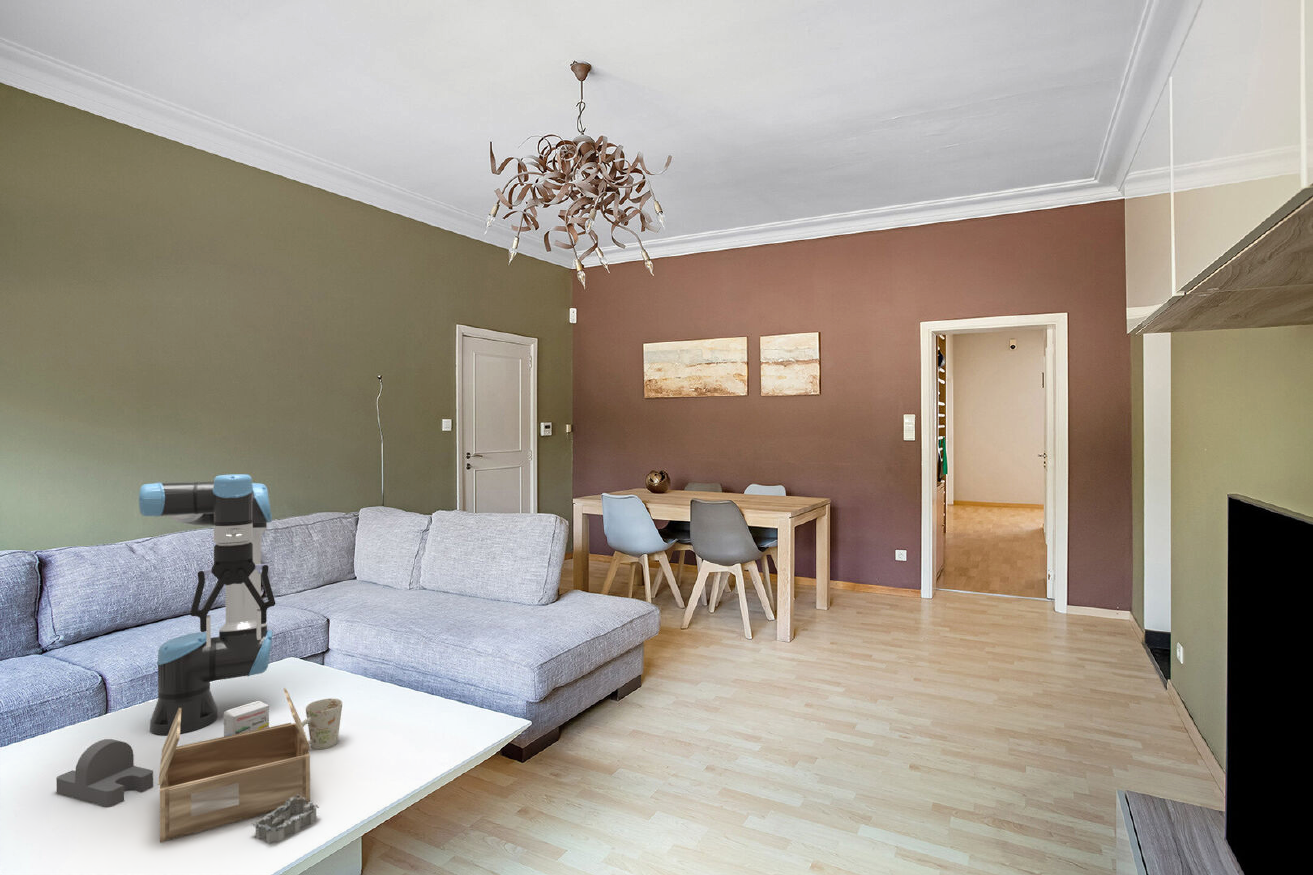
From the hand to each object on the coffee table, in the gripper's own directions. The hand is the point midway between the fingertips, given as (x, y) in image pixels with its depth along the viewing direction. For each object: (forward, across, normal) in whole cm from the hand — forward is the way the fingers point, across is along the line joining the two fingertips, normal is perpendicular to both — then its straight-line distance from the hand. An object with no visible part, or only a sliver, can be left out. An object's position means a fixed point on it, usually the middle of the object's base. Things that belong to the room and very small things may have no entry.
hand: (234, 641), depth 156 cm
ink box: (+32, +3, +12) cm, 34 cm away
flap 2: (+17, +11, -10) cm, 22 cm away
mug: (+32, +18, +7) cm, 37 cm away
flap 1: (+17, -11, -10) cm, 23 cm away
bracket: (+32, -24, +11) cm, 41 cm away
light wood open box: (+31, 0, -10) cm, 33 cm away
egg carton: (+32, +8, -28) cm, 43 cm away
